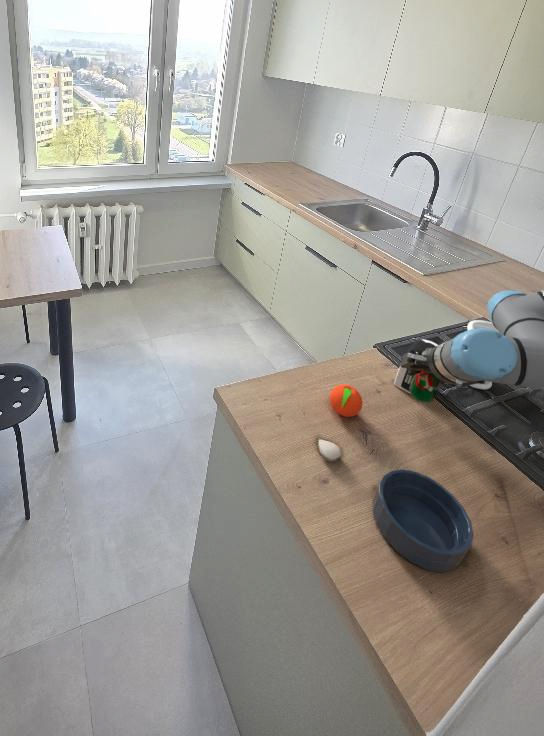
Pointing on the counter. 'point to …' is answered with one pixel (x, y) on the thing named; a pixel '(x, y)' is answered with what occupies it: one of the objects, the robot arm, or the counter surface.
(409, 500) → the bowl
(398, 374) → the container
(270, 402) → the counter surface
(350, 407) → the clementine
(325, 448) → the garlic clove
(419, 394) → the soda can
